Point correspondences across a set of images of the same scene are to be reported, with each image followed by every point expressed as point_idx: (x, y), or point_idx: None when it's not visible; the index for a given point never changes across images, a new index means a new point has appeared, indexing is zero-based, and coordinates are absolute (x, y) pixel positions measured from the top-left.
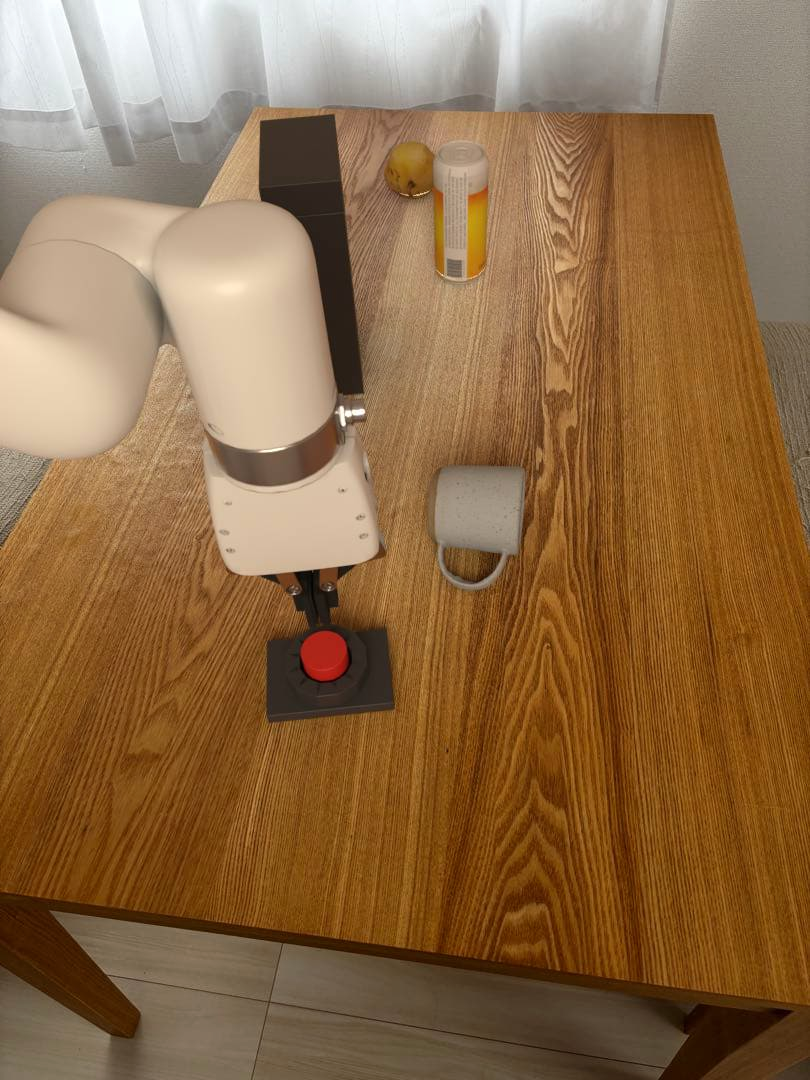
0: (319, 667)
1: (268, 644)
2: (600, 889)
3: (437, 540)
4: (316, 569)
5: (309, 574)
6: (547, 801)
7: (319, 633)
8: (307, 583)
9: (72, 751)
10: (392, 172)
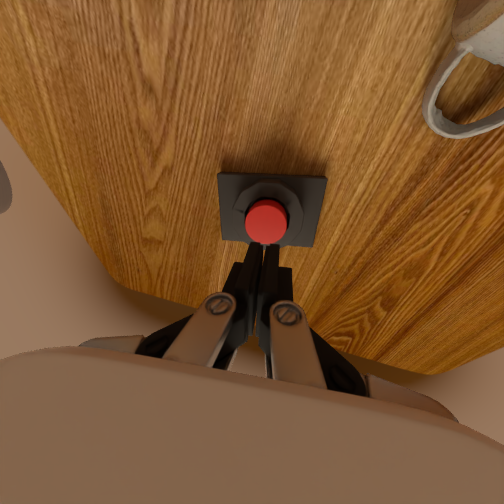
0: (260, 241)
1: (218, 178)
2: (380, 339)
3: (463, 43)
4: (263, 335)
5: (250, 311)
6: (380, 307)
7: (263, 207)
8: (246, 331)
9: (109, 229)
10: None
